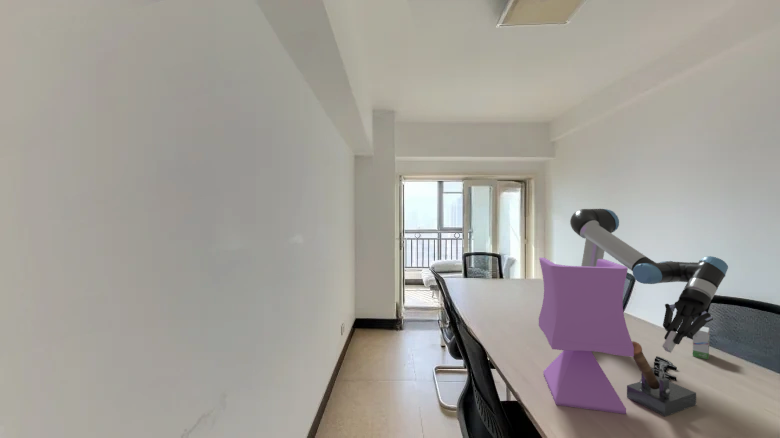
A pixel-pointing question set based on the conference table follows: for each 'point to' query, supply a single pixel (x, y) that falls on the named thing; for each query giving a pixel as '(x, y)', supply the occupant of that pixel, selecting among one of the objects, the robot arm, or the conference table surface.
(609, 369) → the conference table surface
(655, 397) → the press base
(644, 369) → the lever
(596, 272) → the purple pedestal vase
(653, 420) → the conference table surface
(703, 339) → the ink box
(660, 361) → the nameplate
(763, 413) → the conference table surface
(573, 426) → the conference table surface
